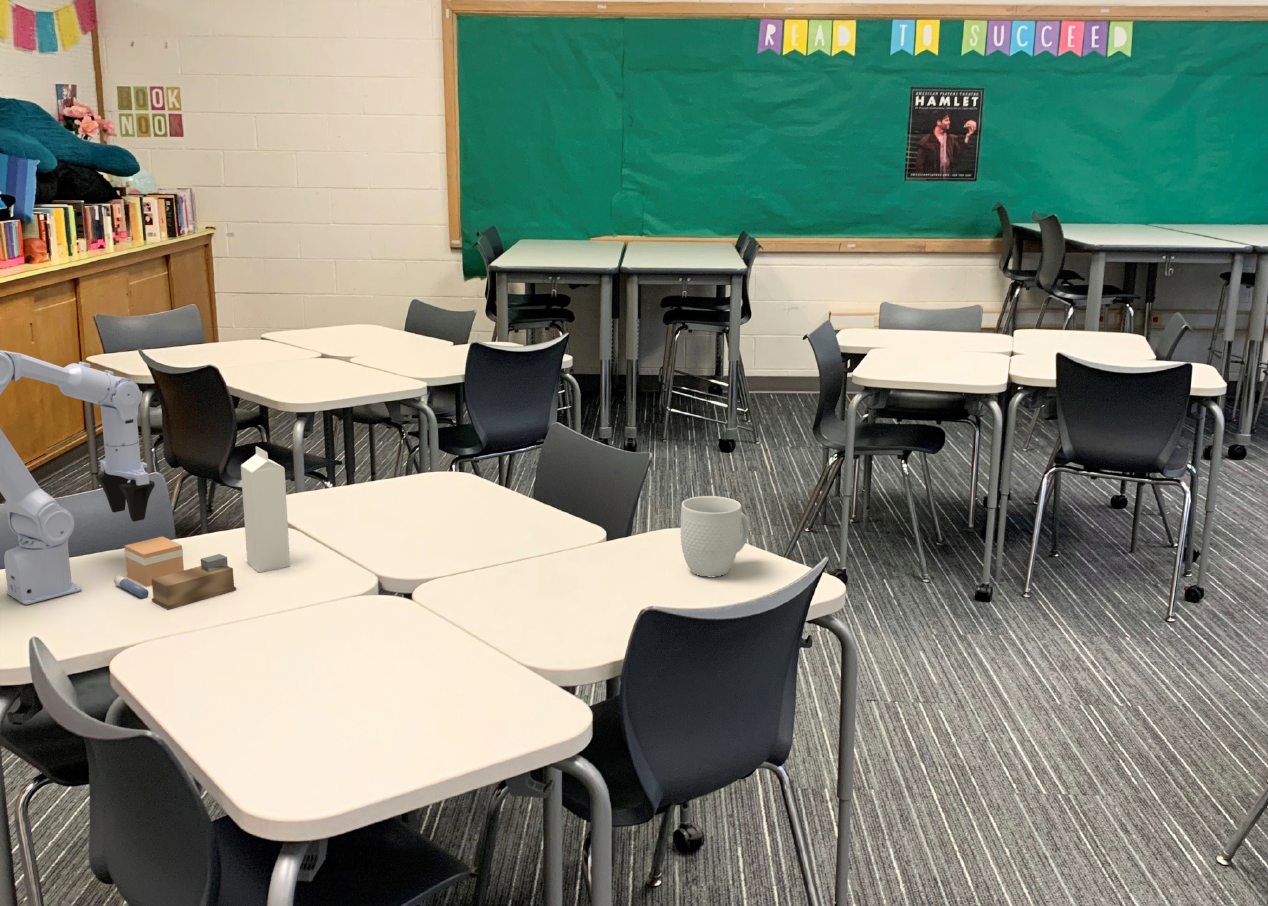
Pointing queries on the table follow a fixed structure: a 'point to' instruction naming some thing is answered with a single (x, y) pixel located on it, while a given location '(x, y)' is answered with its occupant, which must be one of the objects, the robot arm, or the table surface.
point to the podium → (191, 586)
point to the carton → (153, 559)
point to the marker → (131, 586)
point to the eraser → (214, 562)
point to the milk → (265, 513)
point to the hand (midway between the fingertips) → (128, 515)
